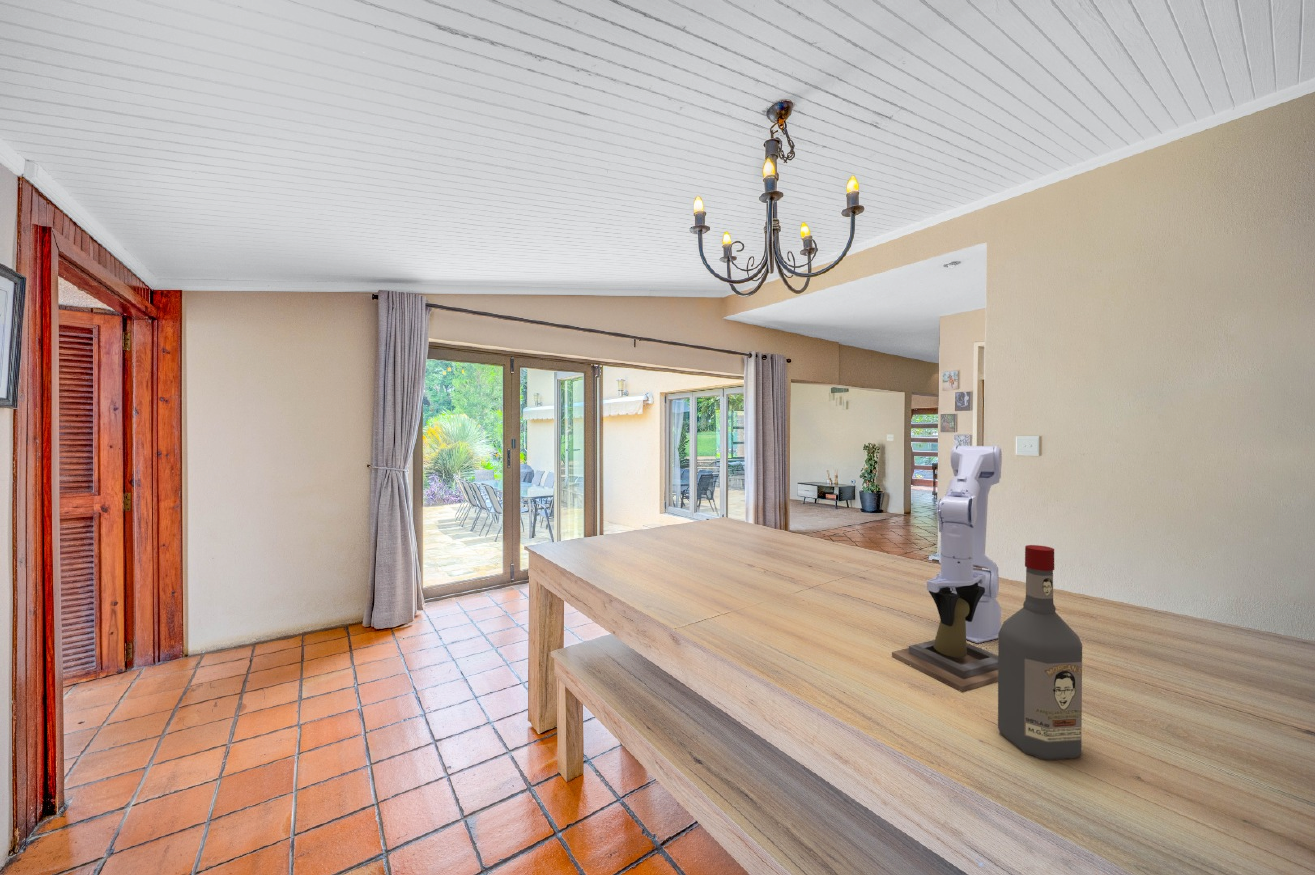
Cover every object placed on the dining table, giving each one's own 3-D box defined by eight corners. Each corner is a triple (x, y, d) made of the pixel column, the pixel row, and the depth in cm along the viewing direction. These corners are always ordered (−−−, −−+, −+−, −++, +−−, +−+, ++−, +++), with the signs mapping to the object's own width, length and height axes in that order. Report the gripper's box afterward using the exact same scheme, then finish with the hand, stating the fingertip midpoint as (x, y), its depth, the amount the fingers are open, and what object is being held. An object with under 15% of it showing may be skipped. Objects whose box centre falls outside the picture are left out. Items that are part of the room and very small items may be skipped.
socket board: (952, 642, 117) (952, 631, 116) (1026, 673, 102) (1026, 660, 102) (891, 656, 110) (891, 644, 110) (962, 692, 95) (962, 678, 95)
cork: (972, 659, 104) (979, 605, 102) (941, 656, 104) (947, 603, 103) (957, 644, 110) (963, 593, 108) (928, 641, 110) (933, 591, 109)
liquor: (989, 726, 84) (989, 542, 83) (1041, 723, 85) (1042, 540, 84) (1034, 763, 75) (1035, 556, 74) (1093, 759, 76) (1094, 554, 75)
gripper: (963, 548, 112) (963, 610, 112) (913, 555, 106) (913, 621, 106) (995, 555, 105) (995, 622, 105) (944, 563, 100) (944, 633, 100)
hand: (956, 622), depth 106 cm, fingers closed on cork, 5 cm apart
